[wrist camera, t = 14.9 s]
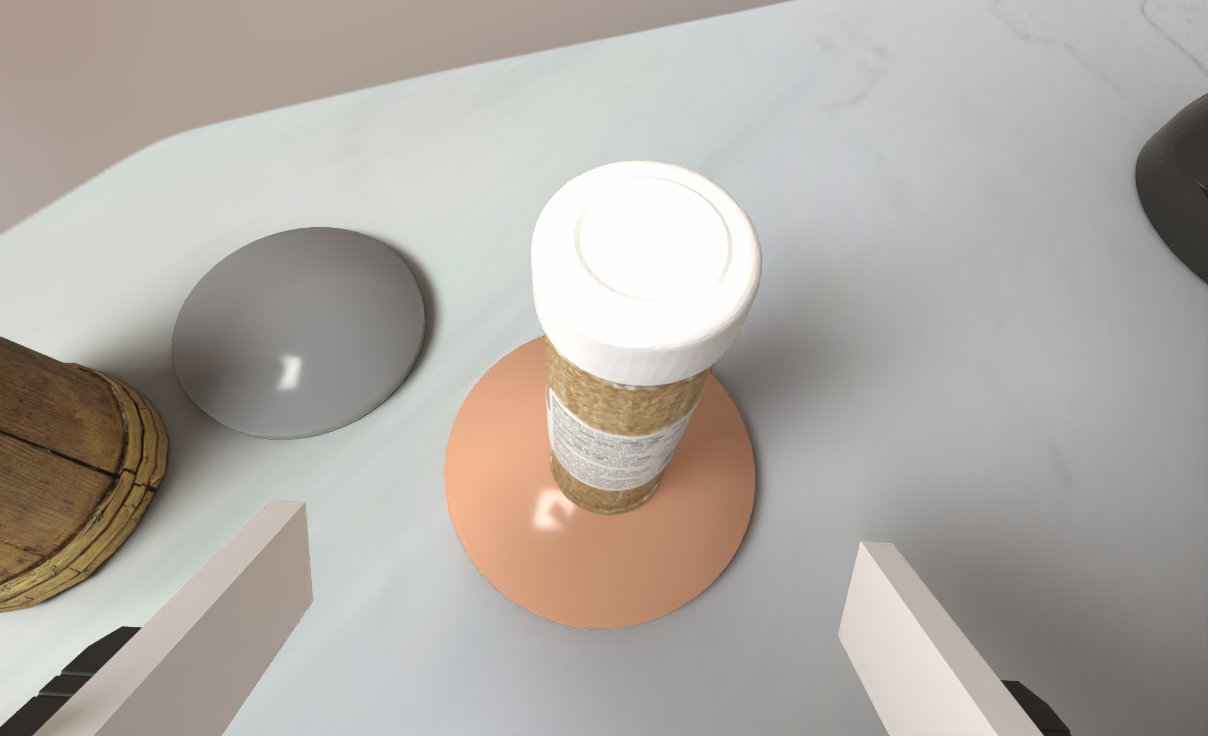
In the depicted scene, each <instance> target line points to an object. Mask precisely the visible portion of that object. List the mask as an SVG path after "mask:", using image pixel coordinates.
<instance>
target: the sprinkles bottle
mask: <svg viewBox="0 0 1208 736" xmlns="http://www.w3.org/2000/svg"><path fill="white" fill-rule="evenodd" d="M531 262H532V278H533V292H534V301H535V307H536V312H537V316H538V318H539V321H540V324H541V326H542V328H543V330H544V334H545V345H546V353H545V362H546V372H547V387H546V406H547V419H548V431H549V439H550V443H551V445H550V450H549V459H550V468H551V471H552V474H553V478H554V480H555V482H556V484H557V485H558V487H559V489H560V490H561V491H562V493H563V494H564V496H565V497H566V498H567V499H568V500H570V501H571V502H573V503H575V504H576V505H577V506H578V507H580V508H582V509H585V510H587V511H589V512H592V513H596V514H603V515H614V514H621V513H625V512H628V511H631V510H633V509H635V508H637V507H638V506H640V505H642V504H643V503H645V502H646V501H647V500H648V499H649V498H651V496H652V495H653V494H654V492H655V490H656V489H657V488H658V487H659V485H660V482H661V480H662V478H663V476H664V472H665V469H666V465H667V464H668V462H669V461H670V459H671V457H672V455H673V454H674V452H675V449H676V447H677V445H678V443H679V441H680V439H681V437H682V435H683V433H684V431H685V429H686V427H687V424H688V422H689V420H690V418H691V416H692V414H693V412H694V410H695V408H696V406H697V404H698V402H699V400H700V398H701V396H702V394H703V391H704V388H705V385H706V381H707V378H708V376H709V374H710V371H711V369H712V367H713V365H714V363H715V362H716V361H717V360H719V359H720V358H721V357H722V356H723V355H724V354H725V353H726V351H727V350H728V349H729V348H730V346H731V345H732V344H733V342H734V340H735V338H736V336H737V335H738V333H739V331H740V329H741V327H742V325H743V323H744V321H745V318H746V316H747V314H748V312H749V310H750V307H751V305H752V302H753V300H754V298H755V295H756V293H757V290H758V287H759V283H760V278H761V271H762V253H761V247H760V242H759V238H758V236H757V233H756V230H755V228H754V226H753V224H752V222H751V220H750V218H749V216H748V215H747V213H746V212H745V211H744V209H743V208H742V207H741V205H740V204H739V203H738V202H737V201H736V200H735V199H734V198H733V197H732V196H731V195H730V194H729V193H728V192H727V191H726V190H725V189H723V188H722V187H721V186H719V185H718V184H716V183H715V182H713V181H712V180H710V179H708V178H706V177H705V176H703V175H701V174H699V173H696V172H694V171H692V170H689V169H686V168H683V167H680V166H677V165H673V164H669V163H664V162H658V161H645V160H636V161H624V162H617V163H612V164H607V165H604V166H600V167H597V168H594V169H592V170H590V171H587V172H585V173H583V174H581V175H579V176H577V177H575V178H574V179H572V180H571V181H569V182H568V183H567V184H566V185H564V186H563V187H562V188H561V189H560V190H559V191H558V192H557V193H555V195H554V196H553V197H552V198H551V200H550V201H549V202H548V203H547V204H546V206H545V208H544V209H543V211H542V213H541V215H540V217H539V219H538V221H537V224H536V227H535V230H534V234H533V239H532V251H531Z"/></svg>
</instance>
